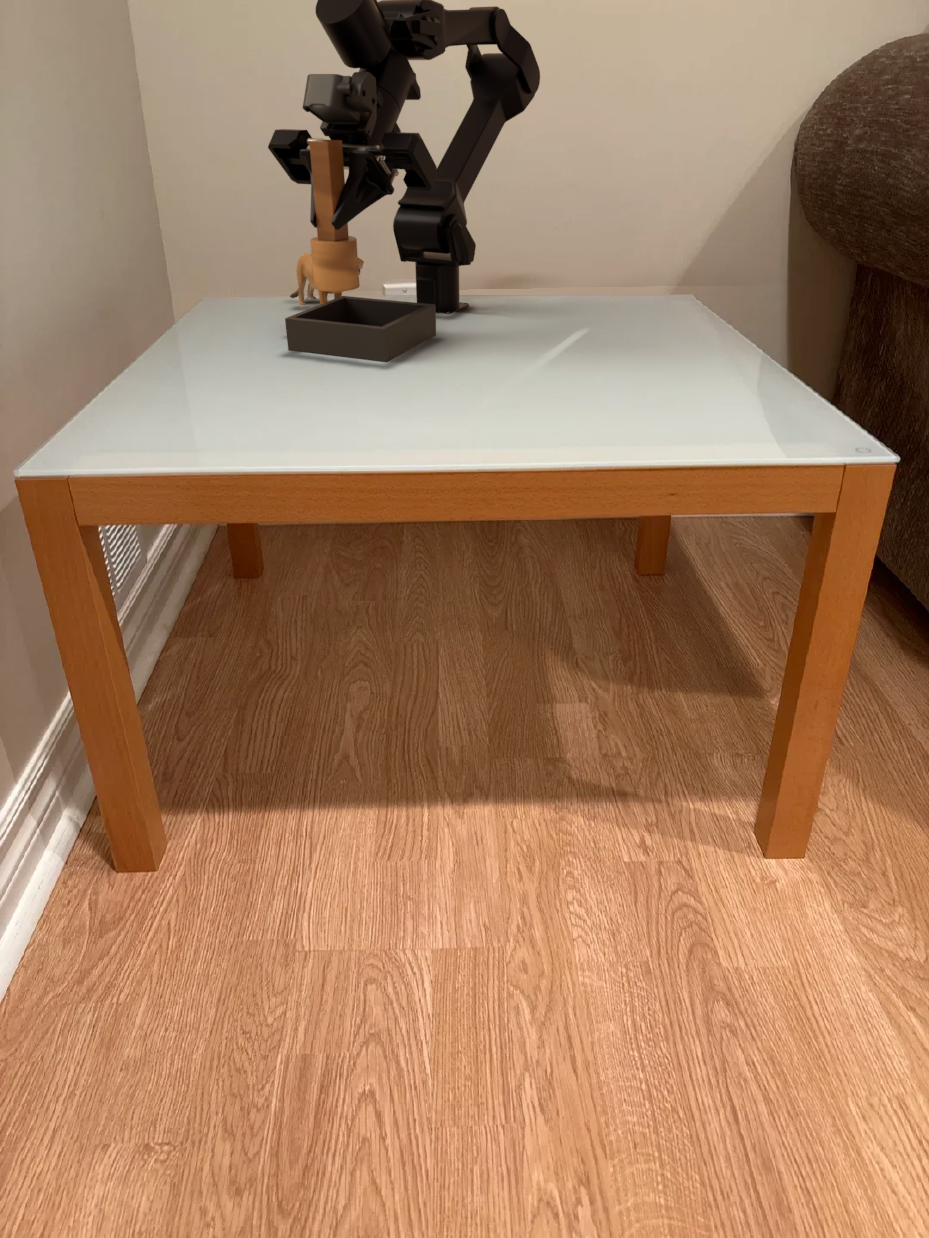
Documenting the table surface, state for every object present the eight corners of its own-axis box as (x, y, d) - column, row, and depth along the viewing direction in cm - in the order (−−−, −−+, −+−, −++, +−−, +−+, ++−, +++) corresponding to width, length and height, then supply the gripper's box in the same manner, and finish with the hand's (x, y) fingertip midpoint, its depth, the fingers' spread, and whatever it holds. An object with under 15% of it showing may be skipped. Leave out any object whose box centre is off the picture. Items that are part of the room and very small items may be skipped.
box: (345, 330, 114) (342, 295, 112) (436, 339, 109) (435, 304, 107) (288, 355, 104) (284, 318, 102) (386, 367, 100) (384, 329, 98)
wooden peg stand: (333, 280, 105) (321, 138, 98) (368, 285, 103) (359, 139, 95) (305, 288, 102) (291, 141, 94) (341, 293, 99) (329, 143, 92)
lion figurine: (372, 315, 120) (367, 242, 116) (339, 322, 117) (334, 247, 112) (305, 298, 129) (299, 230, 125) (274, 304, 126) (266, 234, 122)
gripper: (268, 43, 97) (212, 168, 94) (419, 39, 89) (363, 176, 87) (319, 123, 107) (270, 238, 104) (459, 126, 99) (410, 251, 97)
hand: (324, 226), depth 98 cm, fingers closed on wooden peg stand, 2 cm apart
